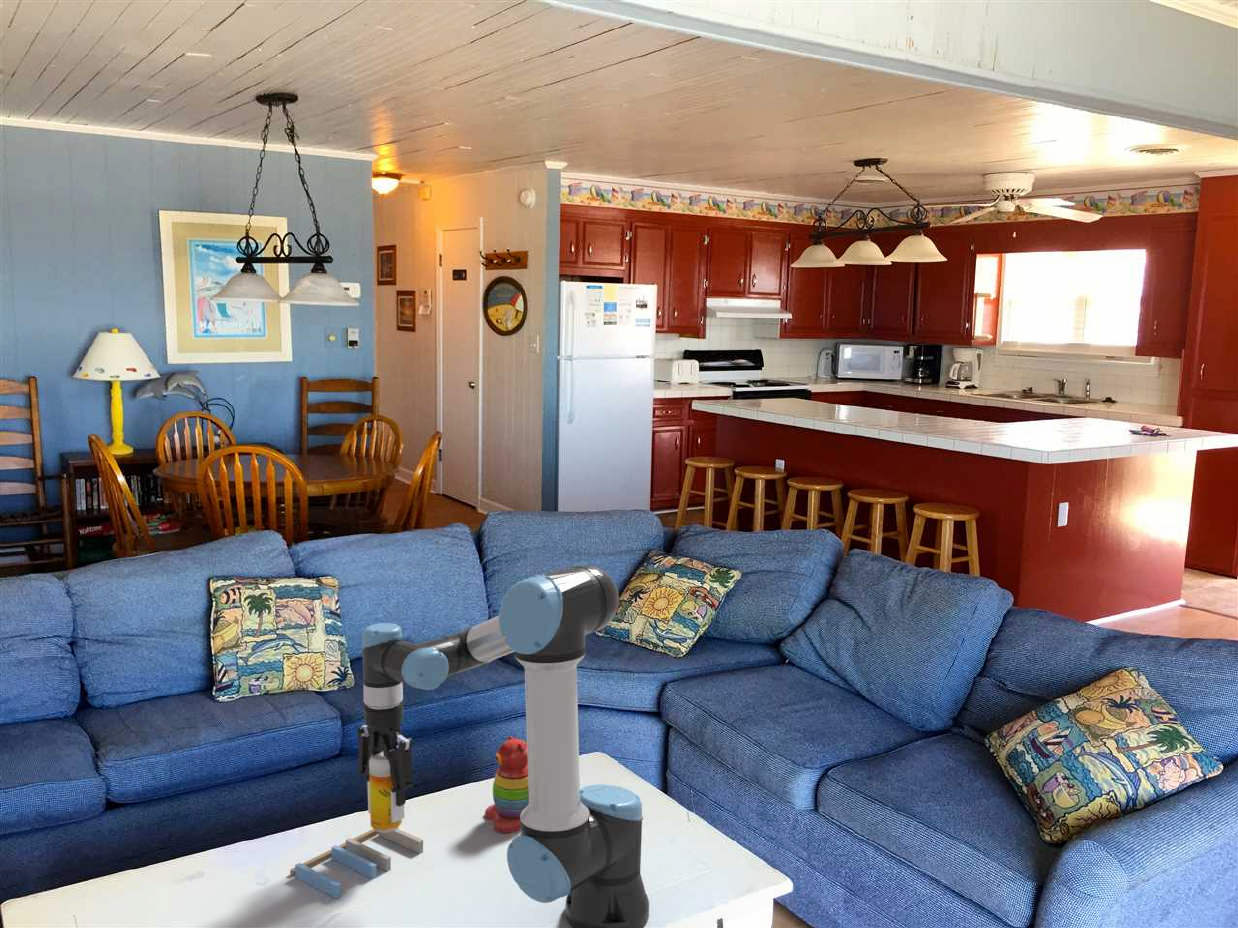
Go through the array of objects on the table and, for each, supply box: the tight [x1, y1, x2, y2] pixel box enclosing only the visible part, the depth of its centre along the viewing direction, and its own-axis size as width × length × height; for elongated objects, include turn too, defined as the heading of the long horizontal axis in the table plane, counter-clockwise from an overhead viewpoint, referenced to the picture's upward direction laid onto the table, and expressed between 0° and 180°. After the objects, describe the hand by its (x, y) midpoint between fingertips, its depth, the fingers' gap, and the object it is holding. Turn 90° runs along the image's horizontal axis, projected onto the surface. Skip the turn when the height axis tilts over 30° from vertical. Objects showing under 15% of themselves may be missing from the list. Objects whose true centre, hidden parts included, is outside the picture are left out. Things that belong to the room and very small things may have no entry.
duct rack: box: [290, 828, 424, 900], centre depth 197 cm, size 14×22×2 cm, turn 144°
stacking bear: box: [484, 735, 529, 834], centre depth 215 cm, size 11×10×18 cm
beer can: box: [369, 749, 403, 833], centre depth 200 cm, size 6×6×15 cm
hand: (386, 814), depth 201 cm, fingers closed on beer can, 6 cm apart
